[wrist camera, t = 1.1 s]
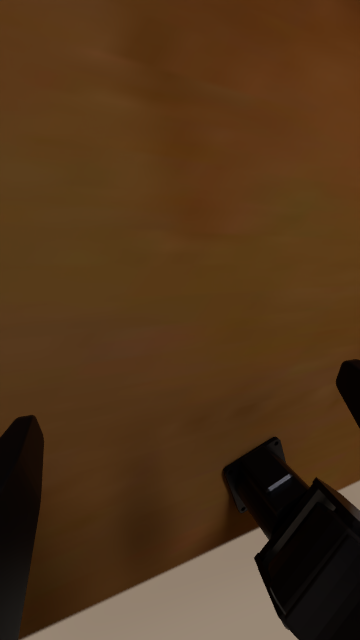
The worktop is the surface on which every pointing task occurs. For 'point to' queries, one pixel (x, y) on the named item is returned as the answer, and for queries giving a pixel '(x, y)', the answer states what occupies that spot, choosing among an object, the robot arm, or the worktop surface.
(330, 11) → the worktop surface
